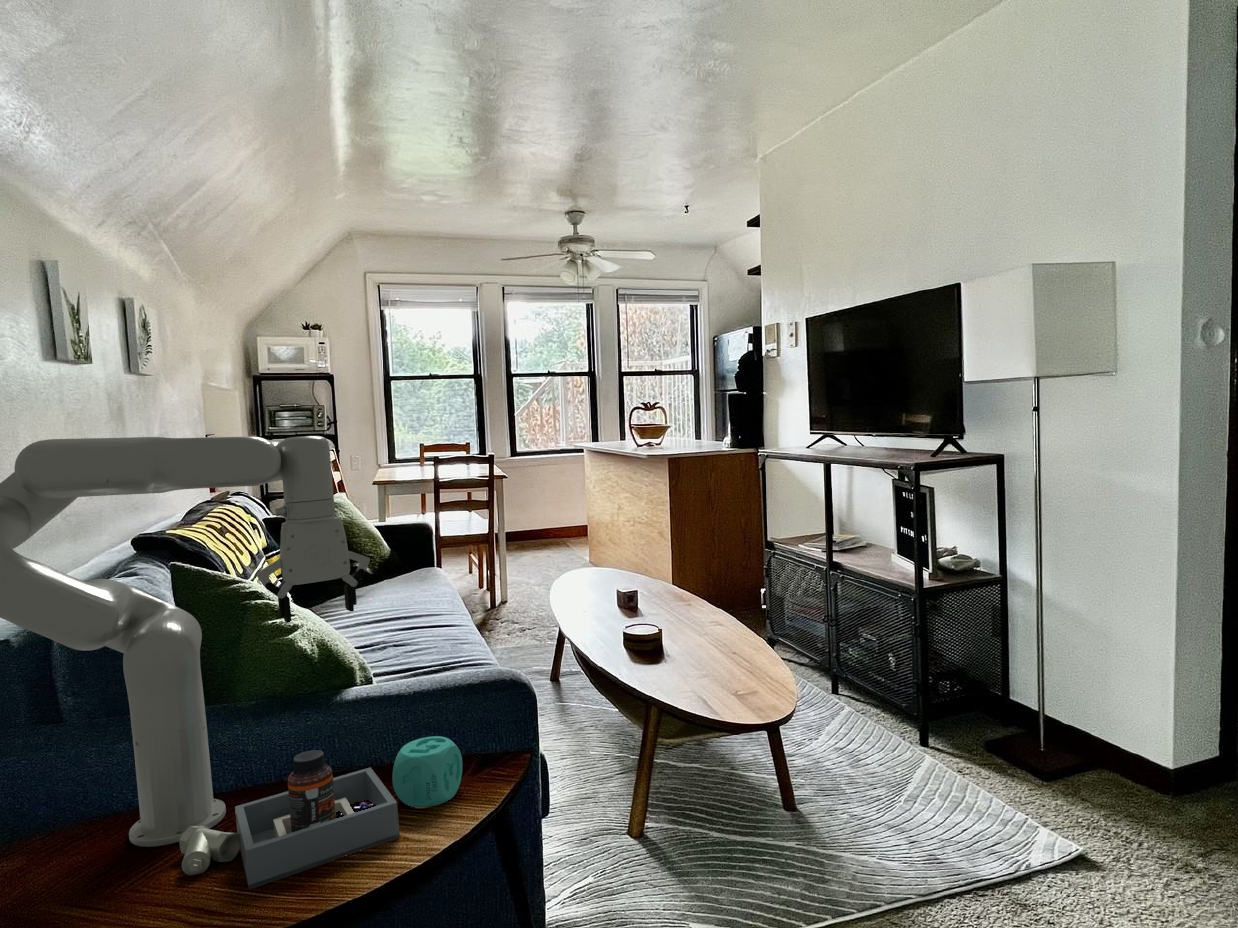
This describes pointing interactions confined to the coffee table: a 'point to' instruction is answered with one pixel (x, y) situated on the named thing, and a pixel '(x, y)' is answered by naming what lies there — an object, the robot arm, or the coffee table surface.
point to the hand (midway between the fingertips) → (319, 615)
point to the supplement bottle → (310, 791)
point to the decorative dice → (427, 771)
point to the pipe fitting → (207, 848)
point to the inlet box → (314, 829)
